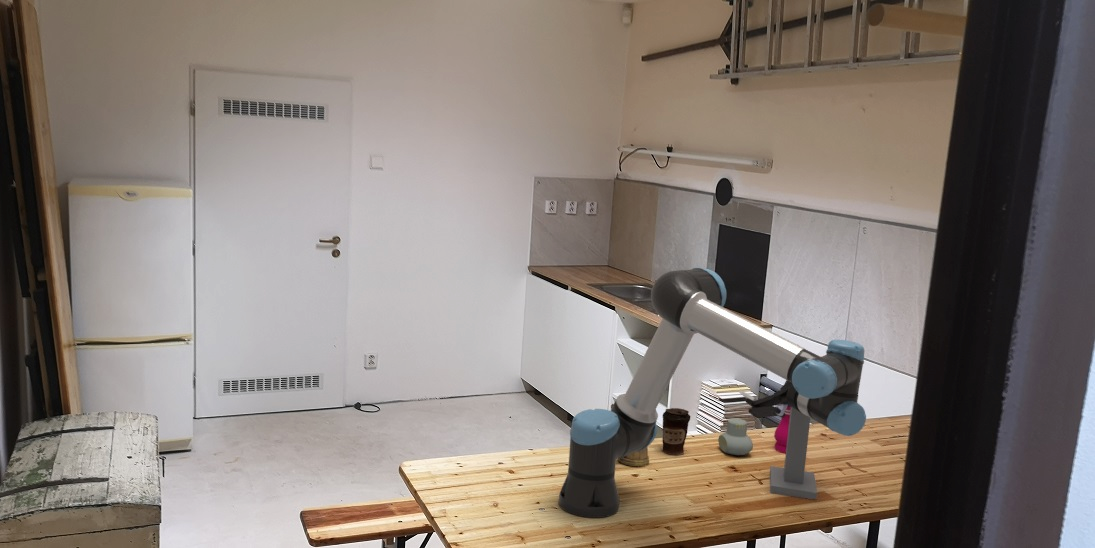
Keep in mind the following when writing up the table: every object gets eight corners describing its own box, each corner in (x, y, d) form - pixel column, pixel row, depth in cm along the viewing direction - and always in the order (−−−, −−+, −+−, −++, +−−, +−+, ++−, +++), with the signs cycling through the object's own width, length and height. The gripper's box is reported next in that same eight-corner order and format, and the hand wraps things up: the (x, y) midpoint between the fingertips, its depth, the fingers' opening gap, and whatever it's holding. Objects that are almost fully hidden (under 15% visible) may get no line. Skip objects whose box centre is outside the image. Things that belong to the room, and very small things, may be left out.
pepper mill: (799, 449, 264) (806, 388, 261) (792, 455, 258) (799, 392, 255) (776, 444, 267) (783, 383, 265) (769, 450, 261) (776, 388, 259)
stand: (816, 500, 223) (828, 398, 219) (770, 492, 226) (781, 392, 222) (813, 479, 239) (824, 383, 235) (769, 472, 241) (780, 378, 238)
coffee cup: (686, 458, 248) (690, 416, 247) (658, 455, 250) (662, 413, 248) (687, 449, 257) (691, 408, 255) (660, 445, 258) (664, 405, 257)
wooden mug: (599, 459, 243) (603, 399, 240) (637, 454, 249) (643, 396, 247) (615, 470, 235) (620, 408, 232) (655, 465, 241) (660, 404, 239)
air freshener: (715, 446, 262) (718, 415, 260) (740, 446, 263) (743, 415, 262) (728, 458, 251) (731, 426, 250) (754, 458, 253) (757, 426, 251)
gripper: (788, 451, 190) (739, 419, 210) (852, 363, 192) (797, 340, 211) (766, 434, 188) (719, 404, 208) (831, 345, 189) (778, 323, 209)
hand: (759, 371), depth 210 cm, fingers open, 13 cm apart
